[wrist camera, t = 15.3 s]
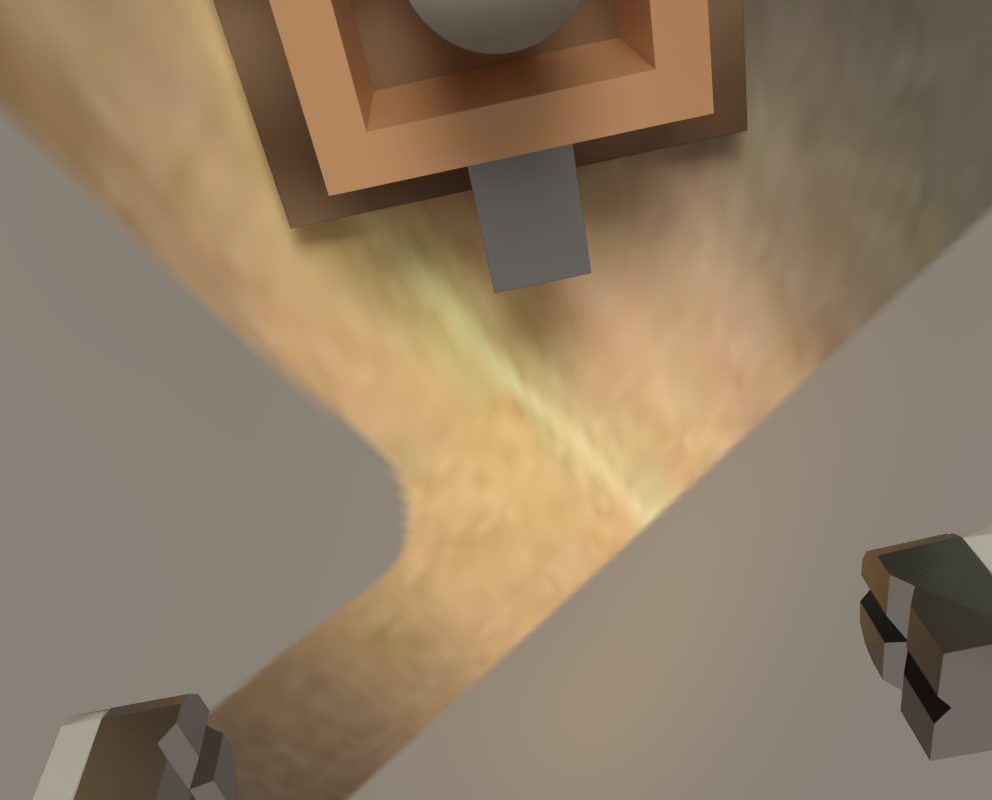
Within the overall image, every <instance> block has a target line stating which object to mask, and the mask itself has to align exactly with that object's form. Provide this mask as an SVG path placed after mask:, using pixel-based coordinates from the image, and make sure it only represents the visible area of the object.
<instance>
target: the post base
mask: <svg viewBox="0 0 992 800" xmlns="http://www.w3.org/2000/svg"><path fill="white" fill-rule="evenodd" d="M350 1H351V5H352V9H353V13H354V17H355V21H356V24H357V28H358V32H359V36H360V40H361V44H362V48H363V51H364V55H365V59H366V63H367V67H368V71H369V75H370V78H371V82H372V86H373V90H374V91H377V90H382V89H386V88H391V87H395V86H400V85H404V84H409V83H414V82H418V81H423V80H427V79H432V78H436V77H441V76H445V75H450V74H455V73H459V72H464V71H468V70H473V69H477V68H482V67H487V66H491V65H496V64H500V63H505V62H509V61H514V60H519V59H523V58H528V57H532V56H537V55H541V54H546V53H550V52H555V51H560V50H564V49H569V48H573V47H578V46H582V45H587V44H592V43H596V42H601V41H605V40H610V39H614V38H619V35H618V26H617V17H616V8H615V0H350ZM214 3H215V6H216V9H217V12H218V15H219V18H220V21H221V24H222V27H223V30H224V33H225V36H226V39H227V42H228V45H229V48H230V50H231V53H232V56H233V59H234V62H235V65H236V68H237V71H238V74H239V77H240V80H241V83H242V86H243V89H244V92H245V95H246V98H247V101H248V104H249V107H250V110H251V113H252V116H253V119H254V122H255V124H256V127H257V130H258V133H259V136H260V139H261V142H262V145H263V148H264V151H265V154H266V157H267V160H268V163H269V166H270V169H271V172H272V175H273V178H274V181H275V184H276V187H277V190H278V193H279V195H280V198H281V201H282V204H283V207H284V210H285V213H286V216H287V219H288V222H289V225H290V228H296V227H300V226H305V225H310V224H314V223H319V222H323V221H328V220H333V219H337V218H342V217H347V216H351V215H356V214H361V213H365V212H370V211H375V210H379V209H384V208H388V207H393V206H398V205H402V204H407V203H412V202H416V201H421V200H426V199H430V198H435V197H440V196H444V195H449V194H454V193H458V192H463V191H467V190H472V185H471V180H470V176H469V171H468V166H467V167H462V168H457V169H453V170H448V171H443V172H439V173H434V174H429V175H425V176H420V177H415V178H411V179H406V180H402V181H397V182H392V183H388V184H383V185H378V186H374V187H369V188H364V189H360V190H355V191H350V192H346V193H341V194H337V195H332V196H329V195H328V192H327V188H326V185H325V182H324V178H323V175H322V172H321V169H320V165H319V162H318V159H317V155H316V152H315V149H314V146H313V142H312V139H311V136H310V133H309V129H308V126H307V123H306V119H305V116H304V113H303V110H302V106H301V103H300V100H299V97H298V93H297V90H296V87H295V83H294V80H293V77H292V74H291V70H290V67H289V64H288V60H287V57H286V54H285V51H284V47H283V44H282V41H281V38H280V34H279V31H278V28H277V24H276V21H275V18H274V15H273V11H272V8H271V5H270V2H269V0H214ZM708 16H709V35H710V53H711V71H712V89H713V108H714V113H713V114H708V115H703V116H699V117H694V118H689V119H685V120H680V121H676V122H671V123H666V124H662V125H657V126H652V127H648V128H643V129H638V130H634V131H629V132H624V133H620V134H615V135H611V136H606V137H601V138H597V139H592V140H587V141H583V142H578V143H573V151H574V158H575V164H576V167H579V166H584V165H588V164H593V163H597V162H602V161H607V160H611V159H616V158H621V157H625V156H630V155H635V154H639V153H644V152H649V151H653V150H658V149H662V148H667V147H672V146H676V145H681V144H686V143H690V142H695V141H700V140H704V139H709V138H714V137H718V136H723V135H727V134H732V133H737V132H741V131H746V130H747V106H746V78H745V50H744V22H743V0H708Z"/></svg>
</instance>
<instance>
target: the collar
mask: <svg viewBox="0 0 992 800" xmlns="http://www.w3.org/2000/svg"><path fill="white" fill-rule="evenodd" d="M269 2H270V5H271V8H272V11H273V15H274V18H275V21H276V24H277V28H278V31H279V34H280V38H281V41H282V44H283V47H284V51H285V54H286V57H287V60H288V64H289V67H290V70H291V74H292V77H293V80H294V83H295V87H296V90H297V93H298V97H299V100H300V103H301V106H302V110H303V113H304V116H305V119H306V123H307V126H308V129H309V133H310V136H311V139H312V142H313V146H314V149H315V152H316V155H317V159H318V162H319V165H320V169H321V172H322V175H323V178H324V182H325V185H326V188H327V192H328V195H329V196H332V195H337V194H341V193H346V192H350V191H355V190H360V189H364V188H369V187H374V186H378V185H383V184H388V183H392V182H397V181H402V180H406V179H411V178H415V177H420V176H425V175H429V174H434V173H439V172H443V171H448V170H453V169H457V168H462V167H467V166H468V171H469V176H470V180H471V185H472V190H473V194H474V199H475V204H476V209H477V213H478V218H479V223H480V227H481V232H482V237H483V242H484V246H485V251H486V256H487V260H488V265H489V270H490V275H491V279H492V284H493V289H494V293H499V292H504V291H508V290H513V289H518V288H523V287H527V286H532V285H537V284H542V283H546V282H551V281H556V280H561V279H566V278H570V277H575V276H580V275H585V274H589V273H591V269H590V262H589V255H588V248H587V241H586V234H585V227H584V220H583V213H582V206H581V199H580V192H579V185H578V178H577V171H576V164H575V158H574V151H573V143H578V142H583V141H587V140H592V139H597V138H601V137H606V136H611V135H615V134H620V133H624V132H629V131H634V130H638V129H643V128H648V127H652V126H657V125H662V124H666V123H671V122H676V121H680V120H685V119H689V118H694V117H699V116H703V115H708V114H713V113H714V108H713V89H712V71H711V53H710V35H709V16H708V0H615V8H616V17H617V26H618V35H619V38H614V39H610V40H605V41H601V42H596V43H592V44H587V45H582V46H578V47H573V48H569V49H564V50H560V51H555V52H550V53H546V54H541V55H537V56H532V57H528V58H523V59H519V60H514V61H509V62H505V63H500V64H496V65H491V66H487V67H482V68H477V69H473V70H468V71H464V72H459V73H455V74H450V75H445V76H441V77H436V78H432V79H427V80H423V81H418V82H414V83H409V84H404V85H400V86H395V87H391V88H386V89H382V90H377V91H374V90H373V86H372V82H371V78H370V75H369V71H368V67H367V63H366V59H365V55H364V51H363V48H362V44H361V40H360V36H359V32H358V28H357V24H356V21H355V17H354V13H353V9H352V5H351V1H350V0H269Z"/></svg>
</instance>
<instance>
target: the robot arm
mask: <svg viewBox="0 0 992 800" xmlns="http://www.w3.org/2000/svg"><path fill="white" fill-rule="evenodd" d="M861 575H862V577H863V579H864V580H865V582H866V583H867V585H868V586H869V588H870V590H869V591H868V593H867V594H866V595H865V596H864V598H863V599H862V600H861V601H860V623H861V628H862V632H863V636H864V641H865V644H866V647H867V649H868V652H869V654H870V656H871V659H872V661H873V663H874V665H875V667H876V668H877V670H878V672H879V674H880V675H881V677H882V679H883V680H885V681H887V682H888V683H890V684H892V685H894V686H895V687H897V688H899V689H900V690H902V703H901V712H902V714H903V715H904V717H905V719H906V721H907V722H908V724H909V725H910V727H911V729H912V731H913V732H914V734H915V736H916V738H917V739H918V741H919V743H920V744H921V746H922V748H923V750H924V751H925V753H926V755H927V756H928V758H929V760H937V759H943V758H949V757H954V756H960V755H966V754H972V753H978V752H983V751H989V750H992V524H991V525H986V526H982V527H977V528H972V529H968V530H963V531H958V532H954V533H951V534H943V535H938V536H933V537H929V538H924V539H920V540H915V541H911V542H907V543H902V544H898V545H893V546H888V547H884V548H879V549H875V550H871V551H867V552H866V554H865V555H864V557H863V559H862V573H861ZM208 714H209V710H208V708H207V707H206V705H205V704H204V702H203V701H202V699H201V698H200V696H199V695H198V694H186V695H180V696H176V697H170V698H164V699H158V700H153V701H148V702H142V703H136V704H131V705H125V706H120V707H115V708H111V709H106V710H101V711H96V712H90V713H85V714H80V715H75V716H71V717H70V718H69V719H68V720H67V721H66V722H65V723H64V724H63V725H62V727H61V728H60V730H59V732H58V735H57V737H56V740H55V742H54V745H53V747H52V750H51V752H50V755H49V758H48V760H47V763H46V765H45V768H44V770H43V773H42V775H41V778H40V780H39V783H38V785H37V788H36V790H35V793H34V796H33V798H32V800H235V796H236V789H237V785H236V766H235V760H234V757H233V754H232V750H231V747H230V745H229V743H228V741H227V740H226V738H225V736H224V734H223V733H221V732H219V731H217V730H214V729H212V728H210V727H208V726H206V723H207V719H208Z"/></svg>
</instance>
